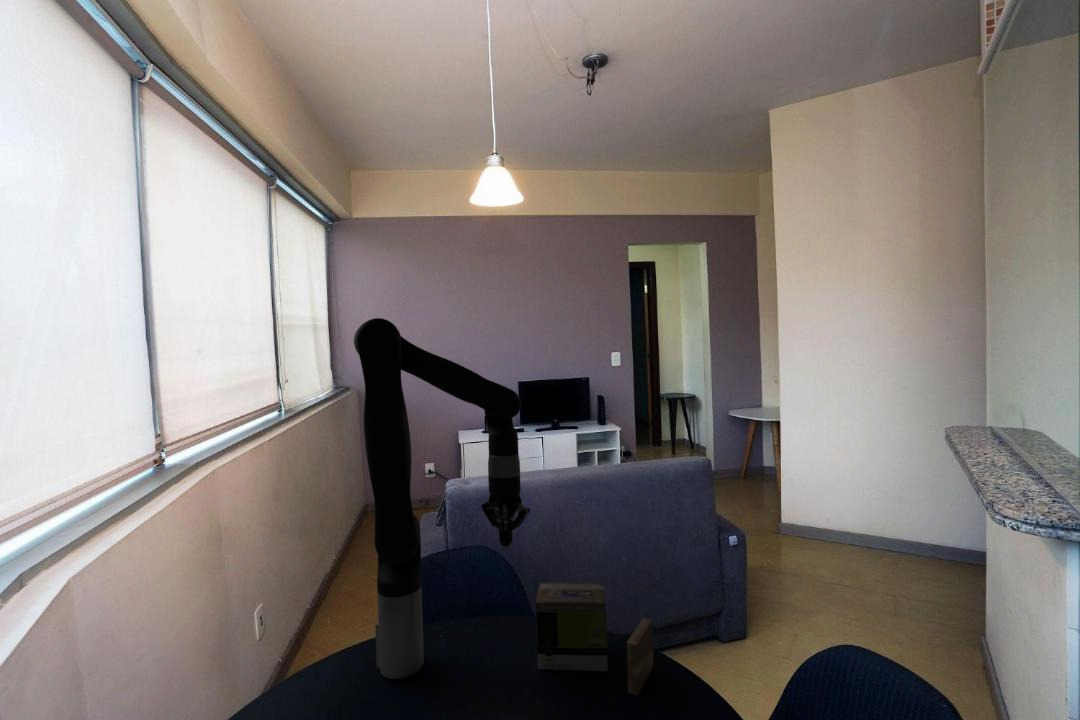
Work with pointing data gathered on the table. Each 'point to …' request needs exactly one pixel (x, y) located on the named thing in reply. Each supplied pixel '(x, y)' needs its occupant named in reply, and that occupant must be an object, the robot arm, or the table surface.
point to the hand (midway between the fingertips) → (506, 545)
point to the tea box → (571, 627)
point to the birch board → (639, 656)
